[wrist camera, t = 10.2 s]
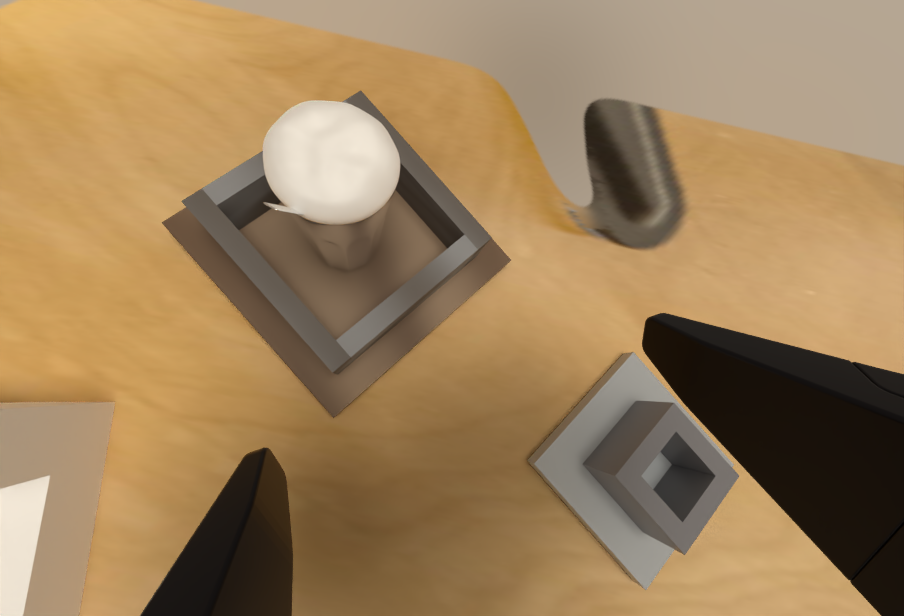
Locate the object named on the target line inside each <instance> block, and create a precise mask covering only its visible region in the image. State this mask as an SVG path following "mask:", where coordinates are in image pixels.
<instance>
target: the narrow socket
mask: <svg viewBox="0 0 904 616" xmlns="http://www.w3.org/2000/svg"><path fill="white" fill-rule="evenodd" d="M527 461H528V462H529V463H530V465H531V466H532V467H533V468H534V469H535V470H536V471H537V472H538V474H539V475H540V476H541V477H542V478H543V479H544V480H545V481H546V483H547V484H548V485H549V486H550V487H551V488H552V489H553V490H554V492H555V493H556V494H557V495H558V496H559V497H560V498H561V500H562V501H563V502H564V503H565V504H566V505H567V506H568V507H569V509H570V510H571V511H572V512H573V513H574V514H575V515H576V516H577V518H578V519H579V520H580V521H581V522H582V523H583V524H584V525H585V527H586V528H587V529H588V530H589V531H590V532H591V533H592V535H593V536H594V537H595V538H596V539H597V540H598V541H599V542H600V544H601V545H602V546H603V547H604V548H605V549H606V550H607V551H608V553H609V554H610V555H611V556H612V557H613V558H614V559H615V561H616V562H617V563H618V564H619V565H620V566H621V567H622V568H623V570H624V571H625V572H626V573H627V574H628V575H629V576H630V577H631V579H632V580H633V581H634V582H636V583H637V584H638V585H640V586H641V587H642V588H644V589H645V590H647V588H648V587H649V585H650V584H651V582H652V581H653V580H654V578H655V577H656V575H657V574H658V572H659V571H660V570H661V568H662V567H663V565H664V564H665V562H666V561H667V560H668V558H669V557H670V555H671V554H672V552H673V551H674V550H677V551H679V552H680V553H682V554H684V555H685V554H686V553H687V551H688V550H689V548H690V547H691V545H692V544H693V542H694V541H695V540H696V538H697V537H698V535H699V534H700V532H701V531H702V529H703V528H704V527H705V525H706V524H707V522H708V521H709V519H710V518H711V516H712V515H713V513H714V512H715V511H716V509H717V508H718V506H719V505H720V503H721V502H722V500H723V499H724V497H725V496H726V495H727V493H728V492H729V490H730V489H731V487H732V486H733V484H734V483H735V481H736V480H737V479H738V477H739V475H738V474H737V473H736V472H735V470H734V469H733V468H732V467H733V465H734V464H733V463H732V462H731V461H730V460H729V459H728V458H727V457H726V455H725V454H724V453H723V452H722V451H721V450H720V449H719V448H718V446H717V445H716V444H715V443H714V442H713V441H712V440H711V439H710V437H709V436H708V435H707V434H706V433H705V432H704V431H703V430H702V428H701V427H700V426H699V425H698V424H697V423H696V422H695V421H694V419H693V418H692V417H691V416H690V415H689V414H688V413H687V412H686V411H685V409H684V408H683V407H682V406H681V405H680V404H679V403H678V402H677V400H676V399H675V398H674V397H673V396H672V395H671V394H670V393H669V391H668V390H667V389H666V388H665V387H664V386H663V385H662V384H661V382H660V381H659V380H658V379H657V378H656V377H655V376H654V375H653V373H652V372H651V371H650V370H649V369H648V368H647V367H646V366H645V364H644V363H643V362H642V361H641V360H640V359H639V358H638V357H637V356H636V354H635V353H634V352H631V353H623V354H622V355H621V357H620V358H619V359H618V360H617V361H616V362H615V363H614V364H613V365H612V367H611V368H610V369H609V370H608V371H607V372H606V373H605V374H604V375H603V377H602V378H601V379H600V380H599V381H598V382H597V383H596V384H595V385H594V387H593V388H592V389H591V390H590V391H589V392H588V393H587V394H586V395H585V397H584V398H583V399H582V400H581V401H580V402H579V403H578V404H577V405H576V407H575V408H574V409H573V410H572V411H571V412H570V413H569V414H568V415H567V417H566V418H565V419H564V420H563V421H562V422H561V423H560V424H559V426H558V427H557V428H556V429H555V430H554V431H553V432H552V433H551V434H550V436H549V437H548V438H547V439H546V440H545V441H544V442H543V443H542V444H541V446H540V447H539V448H538V449H537V450H536V451H535V452H534V453H533V454H532V456H531V457H530V458H529V459H528V460H527Z"/></svg>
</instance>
